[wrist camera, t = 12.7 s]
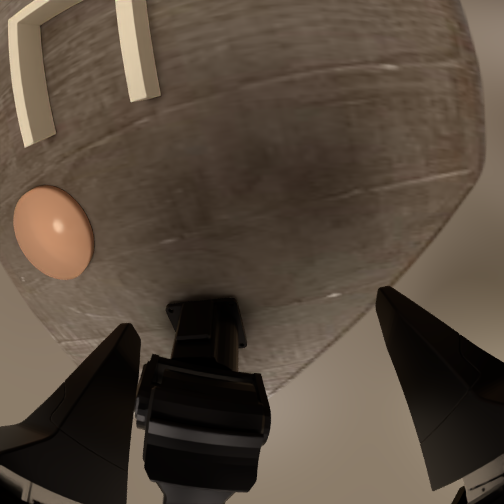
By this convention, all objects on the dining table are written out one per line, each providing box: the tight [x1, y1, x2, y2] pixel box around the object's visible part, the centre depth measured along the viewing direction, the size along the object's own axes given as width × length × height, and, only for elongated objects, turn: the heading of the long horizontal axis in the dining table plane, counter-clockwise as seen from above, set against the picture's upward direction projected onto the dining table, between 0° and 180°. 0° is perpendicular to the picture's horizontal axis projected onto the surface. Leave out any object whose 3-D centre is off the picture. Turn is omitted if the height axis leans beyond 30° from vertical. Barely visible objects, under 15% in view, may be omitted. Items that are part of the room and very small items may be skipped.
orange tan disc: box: [14, 185, 94, 280], centre depth 20 cm, size 9×9×1 cm
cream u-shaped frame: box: [8, 0, 161, 147], centre depth 12 cm, size 11×10×3 cm
